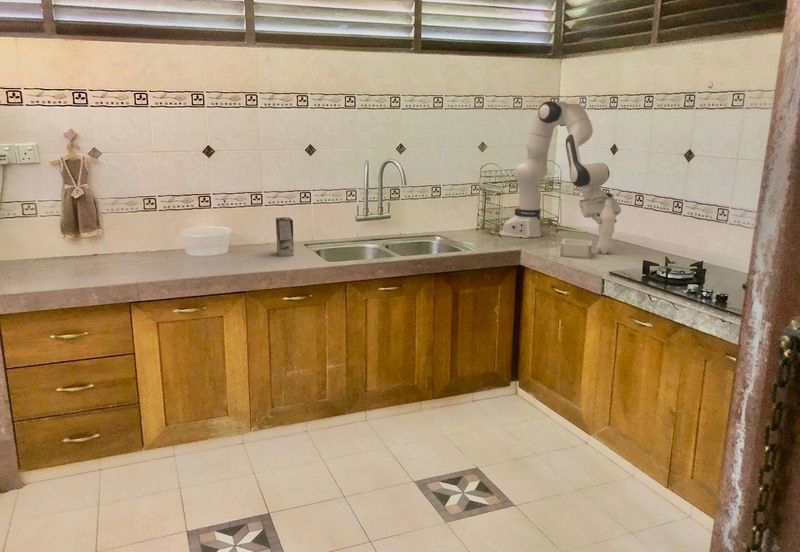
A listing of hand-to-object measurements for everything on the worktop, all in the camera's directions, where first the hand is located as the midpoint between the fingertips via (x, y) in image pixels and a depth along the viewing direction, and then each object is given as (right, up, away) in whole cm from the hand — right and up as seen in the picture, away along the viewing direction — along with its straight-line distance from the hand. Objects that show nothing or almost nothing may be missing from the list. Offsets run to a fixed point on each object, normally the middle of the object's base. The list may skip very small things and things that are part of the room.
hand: (607, 222), depth 296 cm
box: (-15, -15, 0) cm, 21 cm away
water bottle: (0, -14, +4) cm, 15 cm away
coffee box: (-148, -15, -5) cm, 148 cm away
